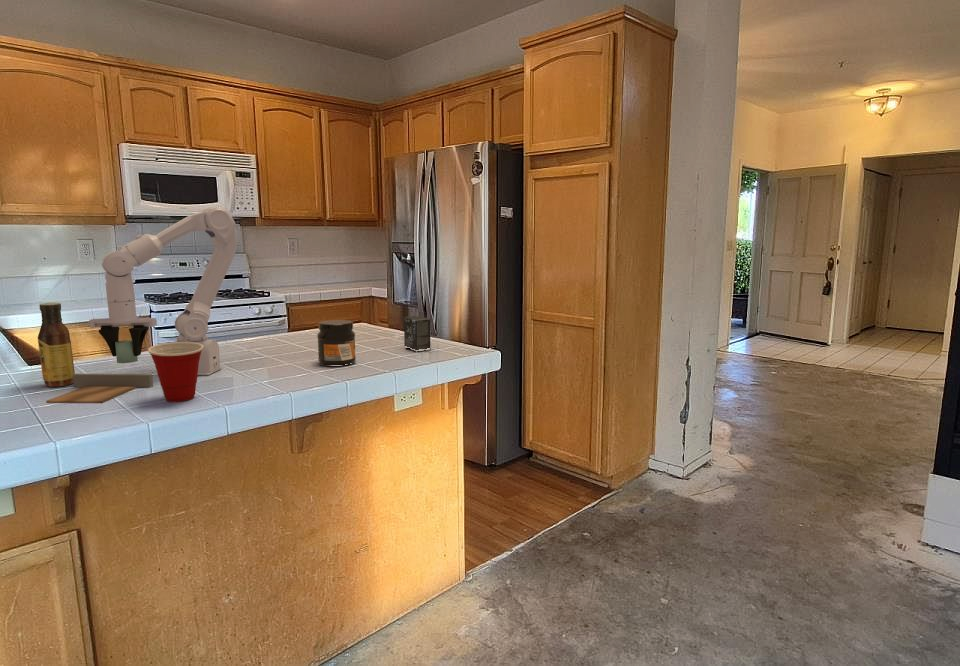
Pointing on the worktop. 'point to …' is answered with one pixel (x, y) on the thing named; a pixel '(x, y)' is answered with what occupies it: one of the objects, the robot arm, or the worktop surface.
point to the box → (417, 332)
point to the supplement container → (336, 342)
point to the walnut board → (90, 395)
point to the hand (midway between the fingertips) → (126, 355)
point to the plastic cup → (177, 368)
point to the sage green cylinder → (125, 352)
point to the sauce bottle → (55, 347)
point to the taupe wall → (113, 380)
